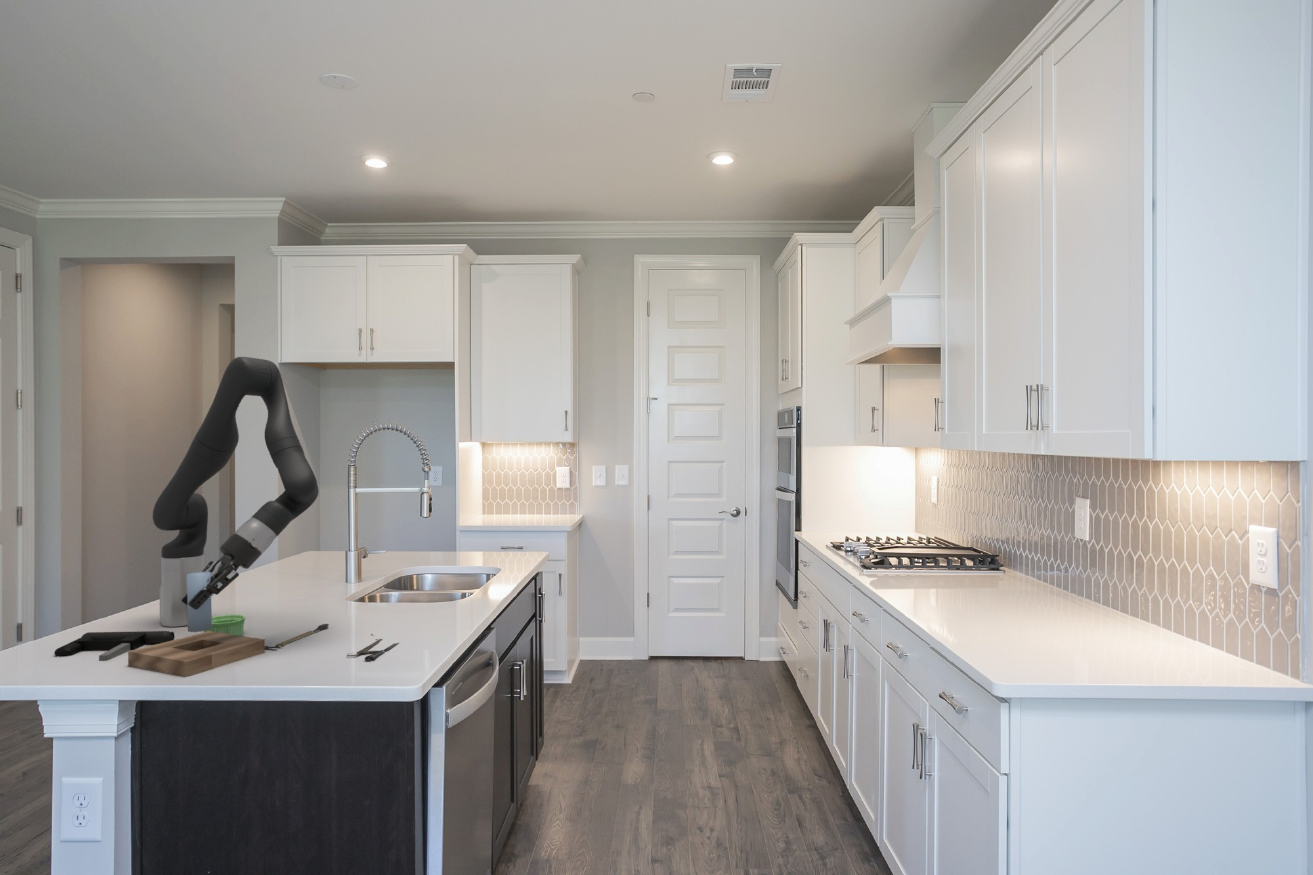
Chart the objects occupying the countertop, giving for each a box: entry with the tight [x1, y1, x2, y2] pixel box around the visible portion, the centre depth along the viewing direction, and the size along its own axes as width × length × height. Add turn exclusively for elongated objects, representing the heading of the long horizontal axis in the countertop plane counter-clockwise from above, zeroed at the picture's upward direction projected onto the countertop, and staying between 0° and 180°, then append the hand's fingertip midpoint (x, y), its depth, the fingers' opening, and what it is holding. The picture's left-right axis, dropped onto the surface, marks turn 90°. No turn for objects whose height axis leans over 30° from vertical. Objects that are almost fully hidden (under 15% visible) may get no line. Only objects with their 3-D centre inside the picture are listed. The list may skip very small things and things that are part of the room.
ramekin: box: [203, 614, 246, 636], centre depth 181 cm, size 9×9×4 cm
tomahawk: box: [265, 623, 329, 652], centre depth 179 cm, size 21×7×1 cm, turn 166°
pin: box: [187, 572, 213, 633], centre depth 163 cm, size 4×4×12 cm
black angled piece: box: [54, 630, 175, 662], centre depth 170 cm, size 3×20×16 cm
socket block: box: [127, 631, 266, 677], centre depth 163 cm, size 18×18×3 cm
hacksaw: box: [346, 633, 400, 662], centre depth 173 cm, size 24×10×2 cm, turn 176°
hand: (188, 605), depth 161 cm, fingers closed on pin, 4 cm apart
